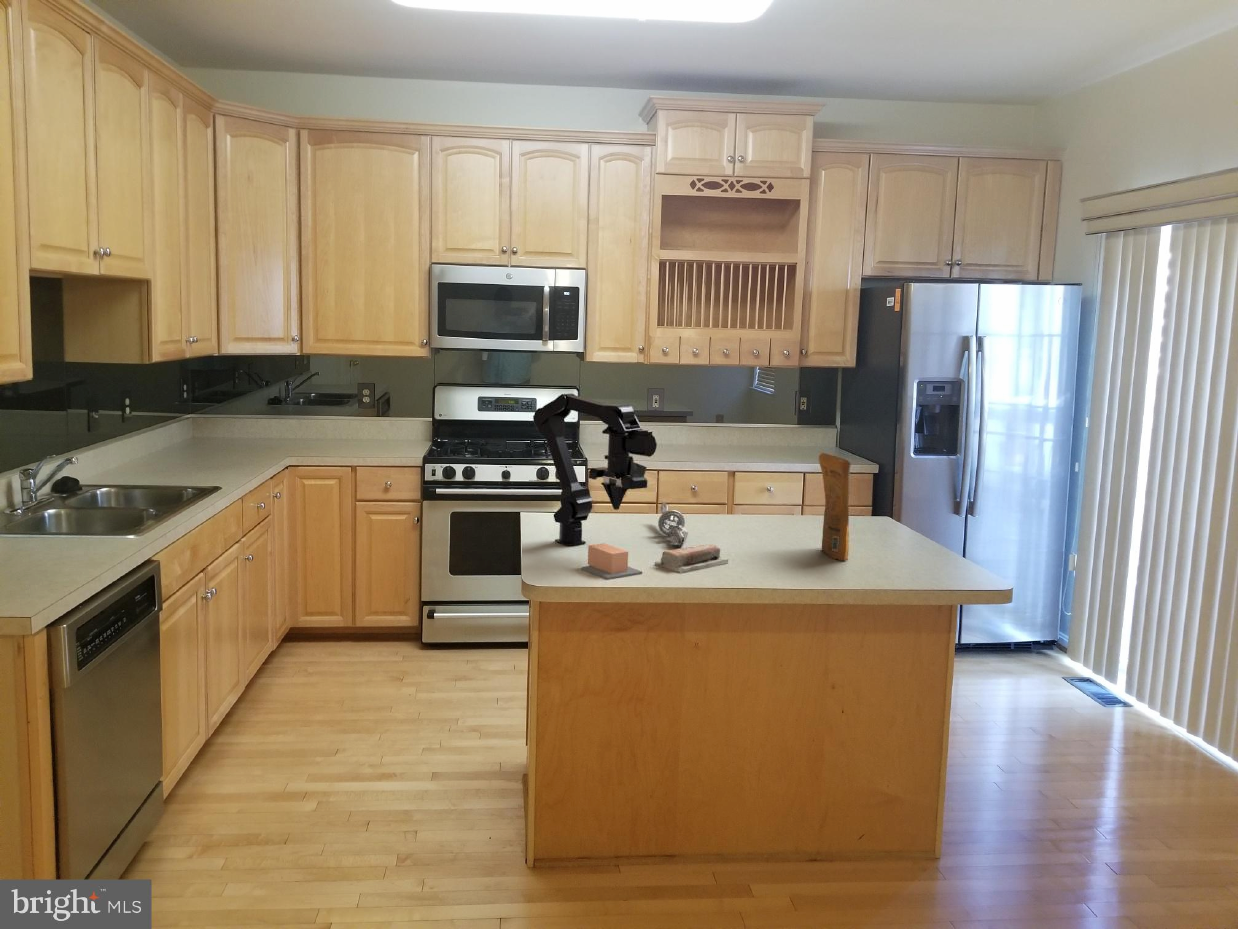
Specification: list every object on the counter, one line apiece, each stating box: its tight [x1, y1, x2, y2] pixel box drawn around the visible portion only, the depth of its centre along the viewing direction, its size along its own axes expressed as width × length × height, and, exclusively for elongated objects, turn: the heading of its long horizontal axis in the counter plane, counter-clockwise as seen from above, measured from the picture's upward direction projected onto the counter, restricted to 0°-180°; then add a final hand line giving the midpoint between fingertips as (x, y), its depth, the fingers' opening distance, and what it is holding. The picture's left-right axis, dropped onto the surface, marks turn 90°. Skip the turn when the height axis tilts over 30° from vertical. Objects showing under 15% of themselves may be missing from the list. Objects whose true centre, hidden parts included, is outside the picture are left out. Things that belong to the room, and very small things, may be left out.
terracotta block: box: [587, 542, 629, 574], centre depth 251 cm, size 5×5×10 cm
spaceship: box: [657, 502, 689, 547], centre depth 292 cm, size 8×35×8 cm
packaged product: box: [654, 544, 729, 574], centre depth 261 cm, size 18×5×10 cm
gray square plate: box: [580, 565, 643, 580], centre depth 250 cm, size 11×11×1 cm
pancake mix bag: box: [818, 452, 852, 562], centre depth 277 cm, size 7×19×28 cm, turn 6°
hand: (616, 509), depth 267 cm, fingers closed
